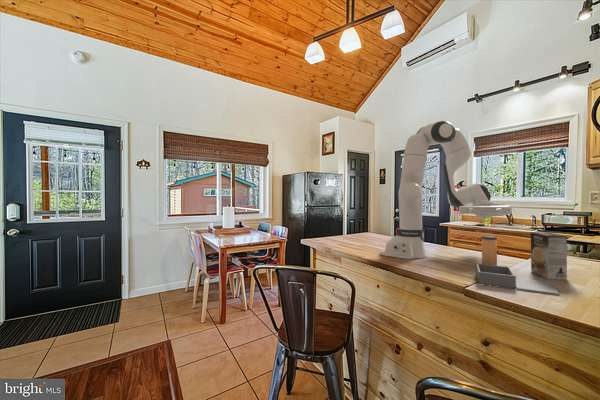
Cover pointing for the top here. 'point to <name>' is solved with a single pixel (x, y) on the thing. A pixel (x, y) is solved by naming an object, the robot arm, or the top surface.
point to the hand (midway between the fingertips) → (485, 210)
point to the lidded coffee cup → (489, 250)
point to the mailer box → (510, 280)
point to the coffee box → (549, 255)
